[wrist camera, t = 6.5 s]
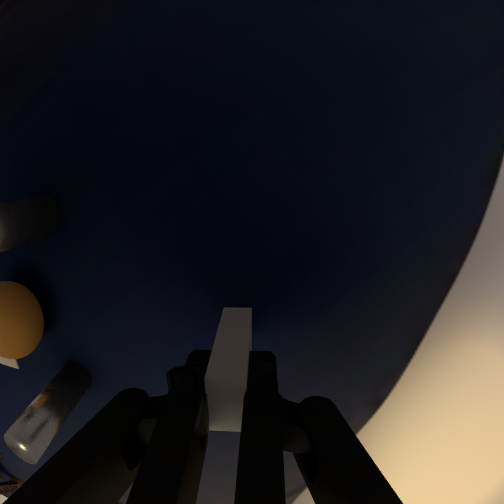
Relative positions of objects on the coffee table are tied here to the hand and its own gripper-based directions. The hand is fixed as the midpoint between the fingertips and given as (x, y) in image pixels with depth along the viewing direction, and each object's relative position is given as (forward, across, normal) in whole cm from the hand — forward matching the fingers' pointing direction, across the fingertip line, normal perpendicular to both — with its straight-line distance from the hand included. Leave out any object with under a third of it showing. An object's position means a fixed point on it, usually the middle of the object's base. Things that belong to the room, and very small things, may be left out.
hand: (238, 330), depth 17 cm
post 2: (+2, -13, -6) cm, 15 cm away
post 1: (+2, -13, +6) cm, 15 cm away
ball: (-1, -16, 0) cm, 16 cm away
